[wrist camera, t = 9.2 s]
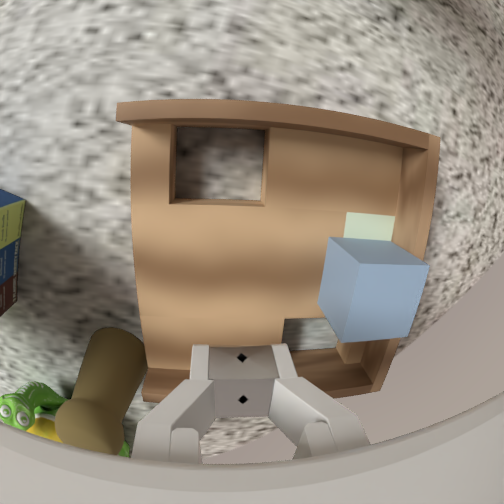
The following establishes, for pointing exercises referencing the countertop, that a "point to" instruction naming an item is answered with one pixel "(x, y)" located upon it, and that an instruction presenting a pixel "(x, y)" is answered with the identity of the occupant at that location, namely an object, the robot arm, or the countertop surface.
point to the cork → (103, 392)
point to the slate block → (370, 289)
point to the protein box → (9, 247)
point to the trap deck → (268, 232)
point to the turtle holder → (36, 411)
